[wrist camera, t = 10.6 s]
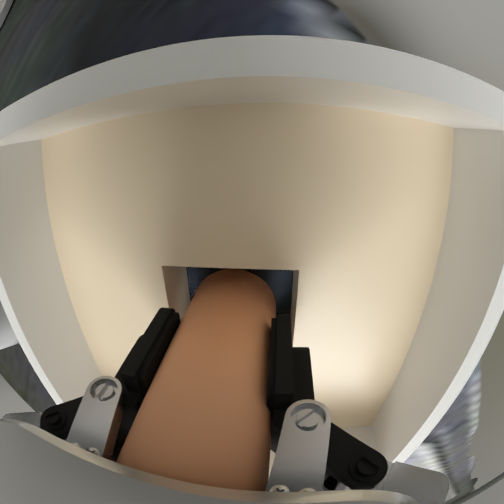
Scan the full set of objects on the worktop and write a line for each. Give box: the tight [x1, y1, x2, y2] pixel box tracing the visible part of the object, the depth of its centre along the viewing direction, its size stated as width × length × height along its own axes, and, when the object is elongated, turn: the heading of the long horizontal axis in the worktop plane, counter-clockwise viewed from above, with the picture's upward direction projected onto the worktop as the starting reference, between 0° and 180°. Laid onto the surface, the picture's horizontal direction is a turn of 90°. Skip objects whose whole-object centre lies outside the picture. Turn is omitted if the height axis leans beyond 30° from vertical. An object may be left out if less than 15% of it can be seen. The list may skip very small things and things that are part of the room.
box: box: [0, 35, 504, 479], centre depth 12 cm, size 20×20×7 cm
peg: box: [116, 269, 276, 491], centre depth 9 cm, size 4×4×10 cm
